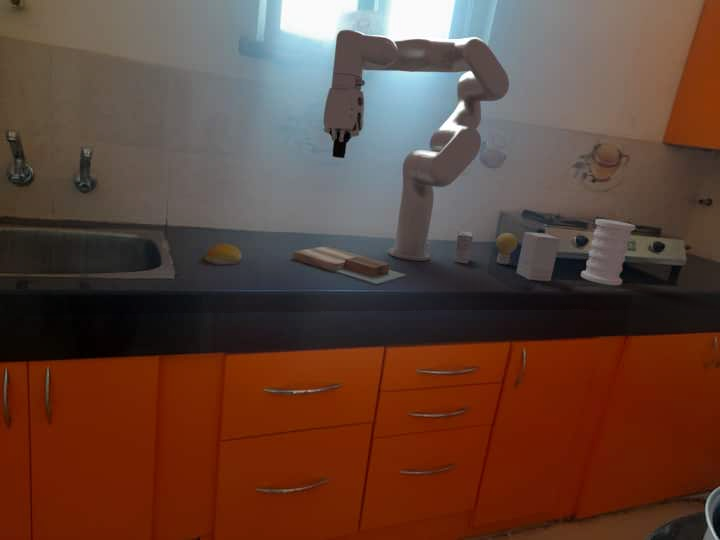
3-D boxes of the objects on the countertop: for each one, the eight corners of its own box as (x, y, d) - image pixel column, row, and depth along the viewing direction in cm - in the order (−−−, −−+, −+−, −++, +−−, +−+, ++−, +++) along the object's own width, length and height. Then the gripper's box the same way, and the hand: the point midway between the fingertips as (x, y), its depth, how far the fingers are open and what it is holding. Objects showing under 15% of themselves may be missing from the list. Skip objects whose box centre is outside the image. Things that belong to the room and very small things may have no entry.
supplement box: (551, 281, 143) (561, 238, 140) (528, 280, 141) (537, 236, 138) (537, 274, 150) (546, 233, 147) (515, 272, 148) (524, 231, 145)
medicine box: (468, 264, 152) (473, 236, 149) (453, 262, 152) (458, 234, 150) (467, 259, 159) (472, 232, 157) (453, 256, 160) (458, 230, 158)
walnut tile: (359, 265, 132) (360, 256, 131) (388, 273, 127) (389, 264, 126) (343, 268, 126) (345, 259, 126) (373, 277, 121) (374, 267, 121)
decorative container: (609, 277, 160) (624, 221, 155) (628, 287, 149) (644, 228, 144) (574, 272, 159) (587, 217, 155) (590, 282, 148) (605, 223, 144)
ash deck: (325, 253, 142) (326, 246, 142) (366, 264, 135) (366, 257, 134) (292, 258, 131) (293, 251, 130) (334, 271, 124) (335, 264, 123)
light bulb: (499, 260, 163) (505, 230, 160) (516, 265, 158) (523, 235, 156) (488, 261, 159) (494, 231, 156) (505, 267, 154) (511, 235, 152)
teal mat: (367, 265, 135) (367, 263, 135) (405, 276, 128) (406, 274, 128) (336, 272, 123) (336, 270, 123) (376, 284, 117) (376, 283, 117)
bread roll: (201, 264, 117) (202, 247, 116) (211, 255, 125) (211, 239, 124) (236, 267, 117) (238, 251, 116) (244, 258, 126) (245, 243, 125)
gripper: (379, 87, 126) (369, 161, 131) (332, 85, 134) (325, 154, 139) (362, 83, 120) (353, 160, 125) (314, 80, 128) (307, 153, 132)
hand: (338, 157), depth 132 cm, fingers closed
